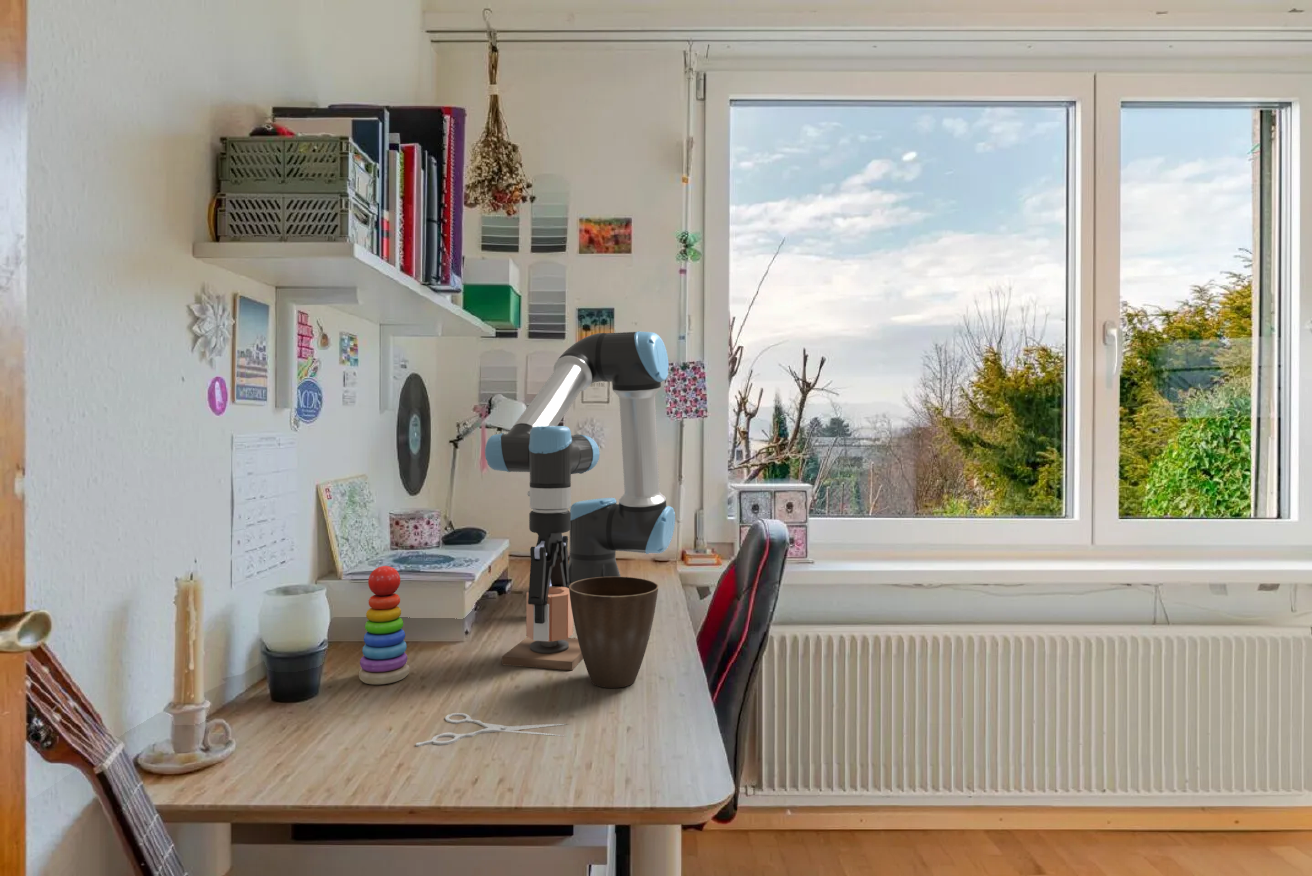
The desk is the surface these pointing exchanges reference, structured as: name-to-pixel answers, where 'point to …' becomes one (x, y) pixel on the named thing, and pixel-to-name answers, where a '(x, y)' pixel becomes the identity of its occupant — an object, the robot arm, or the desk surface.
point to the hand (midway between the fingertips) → (549, 632)
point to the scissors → (487, 729)
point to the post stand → (545, 654)
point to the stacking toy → (384, 631)
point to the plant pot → (613, 626)
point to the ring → (554, 614)
